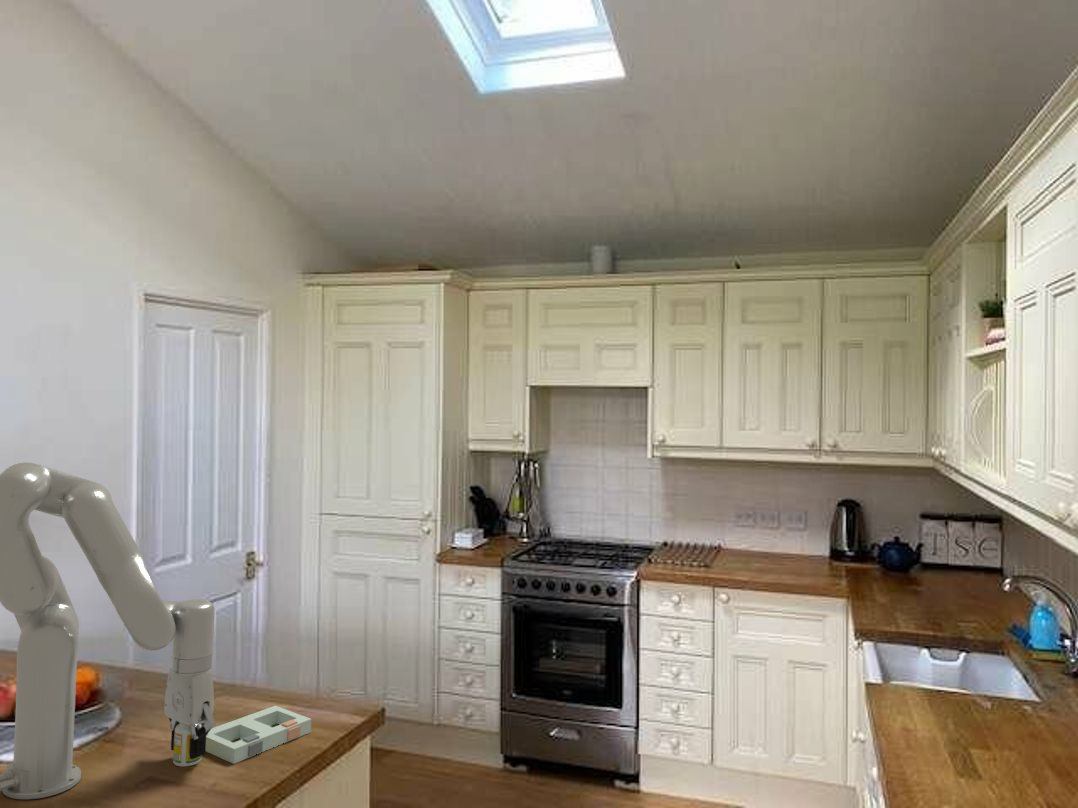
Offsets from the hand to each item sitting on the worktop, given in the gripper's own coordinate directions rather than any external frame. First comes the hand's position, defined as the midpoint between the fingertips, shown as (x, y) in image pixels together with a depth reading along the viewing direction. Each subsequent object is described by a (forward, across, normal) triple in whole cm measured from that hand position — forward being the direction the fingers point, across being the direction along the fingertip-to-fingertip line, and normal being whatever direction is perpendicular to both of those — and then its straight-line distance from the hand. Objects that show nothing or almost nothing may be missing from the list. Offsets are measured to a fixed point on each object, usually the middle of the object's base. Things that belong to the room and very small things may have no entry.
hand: (188, 751), depth 164 cm
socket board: (+2, +2, +15) cm, 15 cm away
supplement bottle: (+2, 0, 0) cm, 2 cm away
